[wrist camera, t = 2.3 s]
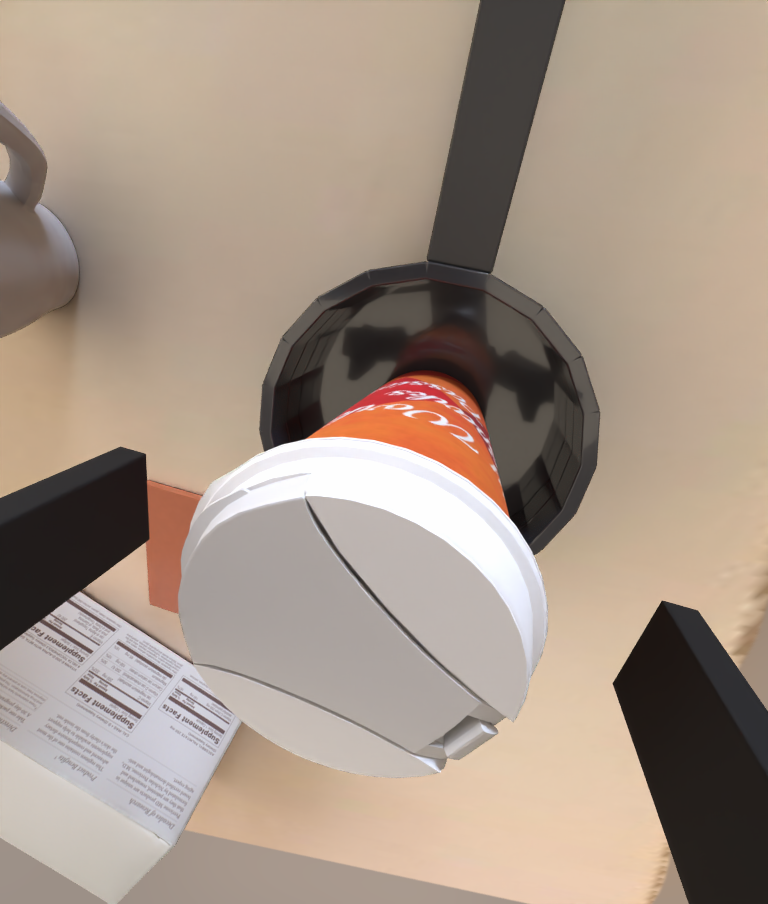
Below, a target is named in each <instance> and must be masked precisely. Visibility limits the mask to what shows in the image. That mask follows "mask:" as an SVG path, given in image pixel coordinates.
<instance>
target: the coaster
mask: <svg viewBox="0 0 768 904" xmlns="http://www.w3.org/2000/svg"><path fill="white" fill-rule="evenodd" d="M147 491H148V513H149V535H150V539H149V540H148V541H146V551H147V567H148V583H149V600H150V605H153V606H156V607H159V608H162V609H165V610H168V611H171V612H174V613H177V614H179V608H178V593H179V588H180V583H181V578H182V574H181V555H182V550H183V546H184V543H185V540H186V538H187V536H188V534H189V530H190V524H191V521H192V518H193V516H194V513H195V510H196V508H197V505H198V503H199V501H200V499H201V498H202V496H201V495H198V494H194V493H191V492H187V491H184V490H180V489H177V488H174V487H170V486H167V485H163V484H160V483H156V482H153V481H149V480H147Z"/></svg>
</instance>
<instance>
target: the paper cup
mask: <svg viewBox="0 0 768 904" xmlns="http://www.w3.org/2000/svg"><path fill="white" fill-rule="evenodd" d="M181 574H182V578H181V583H180V588H179V593H178V608H179V618H180V622H181V626H182V630H183V634H184V638H185V641H186V644H187V647H188V650H189V653H190V656H191V659H192V662H193V663H194V666H195V668H196V670H197V671H198V673H199V674H200V676H201V677H202V679H203V680H204V681H205V683H206V684H207V686H208V687H209V688H210V690H211V691H212V692H213V693H214V694H215V695H216V696H217V698H218V699H219V700H220V701H221V702H222V703H223V704H224V705H225V706H226V707H227V708H228V709H229V710H230V711H231V712H232V713H233V714H234V715H236V716H237V717H238V718H239V719H240V720H241V721H242V722H243V723H245V724H246V725H248V726H249V727H250V728H252V729H253V730H254V731H256V732H257V733H259V734H260V735H261V736H263V737H264V738H266V739H268V740H269V741H271V742H273V743H274V744H276V745H278V746H280V747H281V748H283V749H285V750H287V751H289V752H291V753H293V754H296V755H298V756H300V757H302V758H304V759H306V760H309V761H312V762H315V763H317V764H320V765H323V766H326V767H329V768H333V769H337V770H340V771H344V772H348V773H353V774H359V775H366V776H372V777H388V778H405V777H419V776H426V775H431V774H436V773H440V772H441V770H442V769H444V767H445V764H446V760H447V758H450V759H454V760H459V759H461V758H463V757H464V756H466V755H467V754H469V753H470V752H472V751H473V750H474V749H476V748H477V747H479V746H480V745H482V744H483V743H485V742H486V741H488V740H489V739H490V738H492V737H493V736H495V735H496V734H498V730H497V729H496V728H495V727H494V725H496V724H497V723H498V722H500V721H501V720H503V719H504V718H506V717H507V718H508V719H509V720H511V721H512V722H514V720H515V719H516V718H517V716H518V713H519V711H520V709H521V707H522V705H523V703H524V701H525V699H526V695H527V690H528V686H529V682H530V678H531V676H532V674H533V672H534V670H535V668H536V666H537V664H538V662H539V660H540V658H541V656H542V653H543V648H544V644H545V640H546V636H547V632H548V604H547V598H546V593H545V588H544V582H543V578H542V575H541V573H540V570H539V568H538V565H537V563H536V560H535V558H534V555H533V553H532V551H531V549H530V547H529V546H528V544H527V543H526V541H525V539H524V538H523V536H522V535H521V533H520V531H519V530H518V528H517V527H516V525H515V524H514V523H513V522H512V521H511V520H510V517H509V513H508V509H507V505H506V501H505V497H504V493H503V489H502V485H501V481H500V478H499V474H498V470H497V466H496V462H495V458H494V454H493V450H492V446H491V443H490V439H489V435H488V431H487V428H486V424H485V421H484V418H483V415H482V412H481V409H480V407H479V405H478V402H477V401H476V399H475V397H474V396H473V394H472V393H471V392H470V391H469V389H468V388H467V387H466V386H464V385H463V384H462V383H461V382H460V381H458V380H457V379H455V378H453V377H451V376H449V375H447V374H444V373H441V372H436V371H429V370H421V371H413V372H409V373H406V374H403V375H401V376H399V377H396V378H394V379H393V380H391V381H389V382H388V383H386V384H384V385H383V386H381V387H380V388H378V389H377V390H375V391H374V392H372V393H371V394H369V395H368V396H367V397H365V398H364V399H362V400H361V401H359V402H358V403H356V404H355V405H354V406H352V407H351V408H349V409H348V410H346V411H345V412H343V413H342V414H341V415H339V416H338V417H336V418H335V419H334V420H332V421H331V422H329V423H328V424H326V425H325V426H324V427H322V428H321V429H319V430H318V431H316V432H315V433H314V434H312V435H311V436H309V437H308V438H306V439H305V440H301V441H296V442H292V443H287V444H283V445H280V446H277V447H275V448H273V449H270V450H268V451H265V452H263V453H260V454H258V455H256V456H254V457H253V458H251V459H250V460H248V461H247V462H245V463H244V464H242V465H241V466H239V467H238V468H236V469H234V470H233V471H231V472H229V473H227V474H226V475H224V476H222V477H220V478H219V479H217V480H215V481H213V482H212V483H211V484H210V485H209V487H208V489H207V490H206V492H205V493H204V495H203V496H202V498H201V499H200V501H199V503H198V505H197V508H196V510H195V513H194V516H193V518H192V521H191V524H190V530H189V534H188V536H187V538H186V540H185V543H184V546H183V550H182V555H181Z"/></svg>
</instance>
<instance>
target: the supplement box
mask: <svg viewBox="0 0 768 904" xmlns="http://www.w3.org/2000/svg"><path fill="white" fill-rule="evenodd" d="M241 723H242V721H241V720H240V719H239V718H238V717H237V716H236V715H234V714H233V713H232V712H231V711H230V710H229V709H228V708H227V707H226V706H225V705H224V704H223V703H222V702H221V701H220V700H219V699H218V698H217V696H216V695H215V694H214V693H213V692H212V691H211V690H210V688H209V687H208V686H207V684H206V683H205V681H204V680H203V679H202V677H201V676H200V674H199V673H198V671H197V670H196V668H195V666H194V665H192V664H191V663H189V662H187V661H186V660H184V659H183V658H181V657H180V656H178V655H177V654H175V653H174V652H172V651H171V650H169V649H168V648H166V647H165V646H163V645H161V644H160V643H158V642H157V641H155V640H154V639H152V638H151V637H149V636H148V635H146V634H144V633H143V632H141V631H140V630H138V629H137V628H135V627H134V626H132V625H130V624H129V623H127V622H126V621H124V620H123V619H121V618H120V617H118V616H116V615H115V614H113V613H112V612H110V611H109V610H107V609H105V608H104V607H102V606H101V605H99V604H98V603H96V602H95V601H93V600H92V599H90V598H89V597H87V596H86V595H84V594H83V593H81V592H78V593H77V594H75V595H74V596H73V597H71V598H70V599H69V600H67V601H66V602H65V603H63V604H62V605H61V606H59V607H58V608H57V609H55V610H54V611H53V612H51V613H50V614H49V615H47V616H46V617H45V618H43V619H42V620H41V621H39V622H38V623H37V624H35V625H34V626H33V627H31V628H30V629H29V630H27V631H26V632H25V633H23V634H22V635H21V636H19V637H18V638H17V639H15V640H14V641H13V642H11V643H10V644H9V645H7V646H6V647H5V648H3V649H2V650H1V651H0V838H2V839H3V840H5V841H7V842H9V843H10V844H12V845H13V846H15V847H17V848H18V849H20V850H22V851H23V852H25V853H27V854H28V855H30V856H32V857H33V858H35V859H37V860H38V861H40V862H41V863H43V864H45V865H47V866H48V867H50V868H51V869H53V870H55V871H56V872H58V873H60V874H61V875H63V876H65V877H66V878H68V879H70V880H71V881H73V882H75V883H76V884H78V885H80V886H81V887H83V888H85V889H86V890H88V891H89V892H91V893H93V894H94V895H96V896H98V897H99V898H101V899H102V900H104V901H105V902H107V903H109V904H117V903H118V902H119V901H120V900H121V899H122V898H123V897H124V896H125V895H126V894H127V893H128V892H129V891H130V890H131V889H132V888H133V887H134V886H135V885H136V884H137V883H138V882H139V881H140V880H141V879H142V877H144V876H145V875H146V874H147V873H148V871H149V870H150V869H151V868H152V867H153V866H154V865H155V864H157V863H158V862H159V861H160V860H161V859H162V858H163V857H164V856H165V855H166V854H167V853H168V852H169V851H170V850H171V849H172V848H173V847H174V846H175V845H176V843H177V842H178V840H179V838H180V836H181V834H182V832H183V831H184V829H185V827H186V825H187V823H188V821H189V819H190V818H191V816H192V814H193V812H194V810H195V808H196V806H197V804H198V802H199V801H200V799H201V797H202V795H203V793H204V791H205V789H206V788H207V786H208V784H209V782H210V780H211V778H212V776H213V774H214V773H215V771H216V769H217V767H218V765H219V763H220V761H221V759H222V758H223V756H224V754H225V752H226V750H227V749H228V747H229V745H230V743H231V741H232V739H233V737H234V736H235V734H236V732H237V730H238V728H239V727H240V725H241Z"/></svg>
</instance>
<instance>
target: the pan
mask: <svg viewBox="0 0 768 904" xmlns="http://www.w3.org/2000/svg"><path fill="white" fill-rule="evenodd" d="M421 370H429V371H436V372H441V373H444V374H447V375H449V376H451V377H453V378H455V379H457V380H458V381H460V382H461V383H462V384H463V385H464V386H466V387H467V388H468V389H469V391H470V392H471V393H472V394H473V396H474V397H475V399H476V401H477V402H478V405H479V407H480V409H481V412H482V415H483V418H484V421H485V424H486V428H487V431H488V435H489V439H490V443H491V446H492V450H493V454H494V458H495V462H496V466H497V470H498V474H499V478H500V481H501V485H502V489H503V493H504V497H505V501H506V505H507V509H508V513H509V517H510V520H511V521H512V522H513V523H514V524H515V525H516V527H517V528H518V530H519V531H520V533H521V535H522V536H523V538H524V539H525V541H526V543H527V544H528V546H529V547H530V549H531V551H532V553H533V555H535V554H537V553H539V552H540V550H543V549H544V547H545V546H546V545H547V544H548V543H549V542H550V541H551V540H552V539H553V538H554V537H555V536H556V535H557V534H558V533H559V531H560V530H561V529H562V528H563V527H564V526H565V525H566V524H567V523H568V522H569V521H570V520H571V519H572V518H573V517H574V515H575V514H576V512H577V510H578V508H579V506H580V503H581V501H582V499H583V497H584V494H585V492H586V490H587V488H588V485H589V483H590V481H591V479H592V476H593V474H594V472H595V470H596V466H597V456H598V440H599V424H600V411H599V410H600V409H599V406H598V403H597V400H596V397H595V393H594V390H593V387H592V384H591V381H590V377H589V374H588V371H587V368H586V365H585V362H584V358H583V356H581V353H580V351H579V350H578V349H577V348H576V346H575V345H574V344H573V342H572V341H571V340H570V339H569V337H568V336H567V335H566V334H565V332H564V331H563V330H562V329H561V327H560V326H559V325H558V323H557V322H556V321H555V320H554V318H553V317H552V316H551V315H550V313H549V312H548V311H547V310H546V308H544V307H543V306H542V305H541V304H539V303H537V302H536V301H534V300H533V299H531V298H529V297H528V296H526V295H524V294H523V293H521V292H519V291H518V290H516V289H514V288H513V287H511V286H510V285H508V284H506V283H505V282H503V281H501V280H500V279H498V278H496V277H495V276H493V275H491V274H490V275H489V274H488V273H485V272H480V271H475V270H470V269H465V268H460V267H455V266H450V265H445V264H440V263H435V262H430V261H429V262H426V261H424V262H418V263H411V264H405V265H398V266H391V267H385V268H378V269H371V270H368V271H365V272H363V273H361V274H359V275H357V276H355V277H354V278H352V279H350V280H348V281H346V282H344V283H343V284H341V285H339V286H337V287H335V288H333V289H331V290H330V291H328V292H326V293H324V294H322V295H320V296H319V297H318V298H316V299H315V300H314V301H313V303H312V304H311V305H310V306H309V307H308V308H307V309H306V310H305V312H304V313H303V314H302V315H301V316H300V317H299V318H298V319H297V321H296V322H295V323H294V324H293V325H292V326H291V327H290V328H289V329H288V331H287V332H286V333H285V334H284V335H283V337H282V338H281V340H280V342H279V345H278V347H277V350H276V352H275V355H274V357H273V360H272V362H271V364H270V367H269V369H268V372H267V374H266V377H265V379H264V381H263V384H262V398H261V412H260V427H259V431H260V436H261V440H262V444H263V448H264V452H265V451H268V450H270V449H273V448H275V447H277V446H280V445H283V444H287V443H292V442H296V441H301V440H305V439H306V438H308V437H309V436H311V435H312V434H314V433H315V432H316V431H318V430H319V429H321V428H322V427H324V426H325V425H326V424H328V423H329V422H331V421H332V420H334V419H335V418H336V417H338V416H339V415H341V414H342V413H343V412H345V411H346V410H348V409H349V408H351V407H352V406H354V405H355V404H356V403H358V402H359V401H361V400H362V399H364V398H365V397H367V396H368V395H369V394H371V393H372V392H374V391H375V390H377V389H378V388H380V387H381V386H383V385H384V384H386V383H388V382H389V381H391V380H393V379H394V378H396V377H399V376H401V375H403V374H406V373H409V372H413V371H421Z"/></svg>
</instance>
